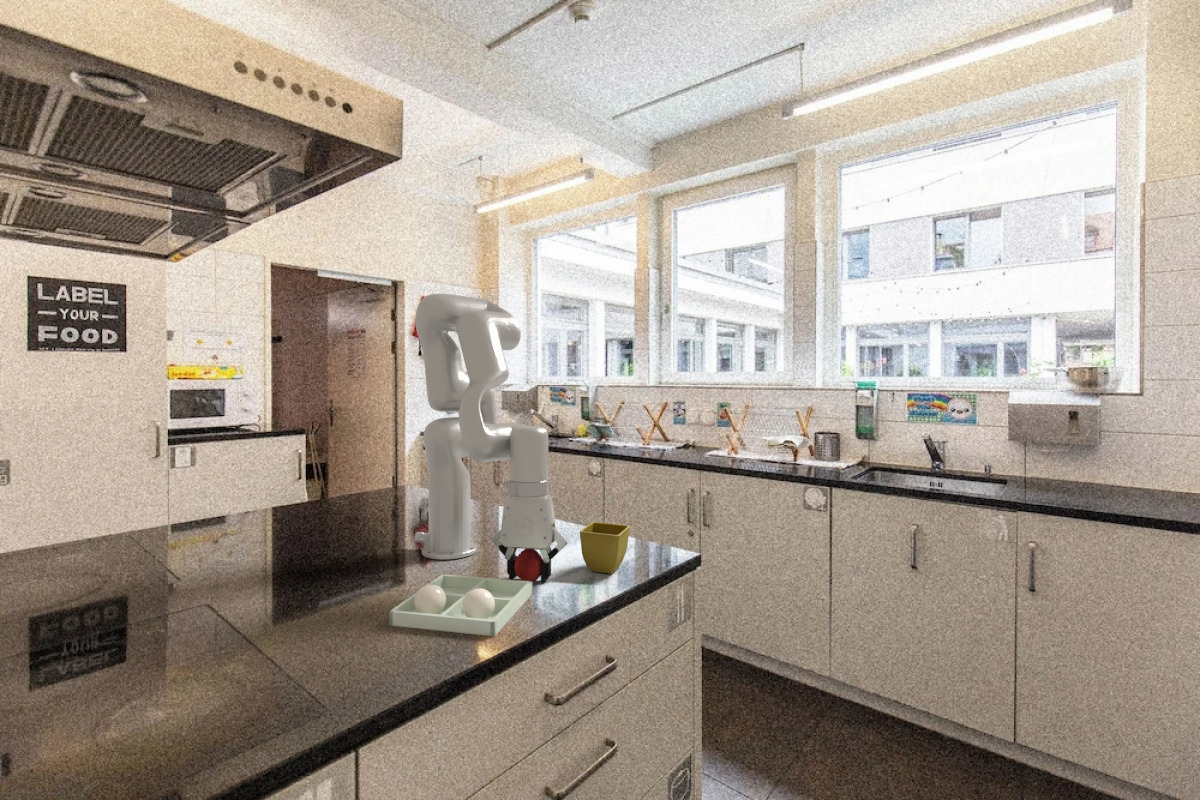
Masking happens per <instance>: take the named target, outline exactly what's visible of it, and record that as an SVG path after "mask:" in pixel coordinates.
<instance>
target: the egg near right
mask: <svg viewBox="0 0 1200 800" xmlns="http://www.w3.org/2000/svg"><path fill="white" fill-rule="evenodd" d="M494 608H495V600H494V597H493V595H492V594H491V593H490V592H489V591H488V590H486V589H482V588H478V589H474V590H472V591H470V592H469V593H468V594H467V595H466V597H465V598H464V601H463V612H464V614H465V616H466V617H469V618H480V619H488V618H489V617H490V616H491V615H492V613H493V611H494Z"/></svg>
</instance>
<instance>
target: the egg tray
mask: <svg viewBox="0 0 1200 800" xmlns="http://www.w3.org/2000/svg"><path fill="white" fill-rule="evenodd" d="M429 584H434V585H438V586H439V587H441V588H442V589H443V590H444V592H445V594H446V604H445V607H444V608H443V610H442V611H441V612H440V613H439V614H428V613H418V612H417V611H416V610H415V607H414V597H415V595H416V593H417V591H416V592H415V593H414V594H412V595H411V596H409V597H408V598H406V599H405V600H403V601H402V602H400V603H399V604H398V605H395V607H393V608H392V609H391V610H389V611H388V626H390V627H391V626H392V627H398V628H400V627H402V628H409V629H411V628H412V629H420V630H429V631H430V630H431V631H437V632H438V631H439V632H449V633H457V634H458V633H460V634H468V635H469V634H470V635H475V636H477V635H479V636H487V637H488V636H489V637H496V636H497V634H499V632H501V630H502V629H503V628H504V627H505V626H506V625H507V623H508V622H509V621H510V619H512V618H513V616H514V615H515V614H516V613H517V611H519V609H521V607H523V605H524V604H525V603H526V602H527V600H528V599H529V598H530V597H531V596H532V595H533V582H532V581H522V580H521V579H520V580H517V579H513V580H509V579H506V578H505V579H504V578H494V577H483V576H481V577H480V576H469V575H456V574H455V575H454V574H446V573H442V574H440V575H439V576H438V577H436V578H434V580H431V582H429V583H428V584H427V585H429ZM478 588H482V589H486V590H488V591H489V592H490V593H491V594H492V595H493V597H494V600H495V608H494V611H493V613H492V615H491V616H490V617H489V618H488V619H480V618H469V617H466V616H465V614H464V612H463V601H464V598H465V597H466V595H467V594H468V593H469V592H470V591H472V590H474V589H478Z"/></svg>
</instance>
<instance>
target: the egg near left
mask: <svg viewBox="0 0 1200 800" xmlns="http://www.w3.org/2000/svg"><path fill="white" fill-rule="evenodd" d="M428 584H429V583H428ZM428 584H426V585H423V586H422V587H421V588H419V589H418V590H417V591H416V592H417V593H416V592H415V593H416V595H415V597H414V607H415V610H416V611H417V612H418V613H428V614H439V613H440V612H441V611H442V610H443V608H444V607H445V604H446V594H445V592H444V590H443V589H442V588H441V587H439V586H438V585H434V584H429V585H428Z"/></svg>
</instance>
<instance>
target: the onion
mask: <svg viewBox="0 0 1200 800" xmlns="http://www.w3.org/2000/svg"><path fill="white" fill-rule="evenodd" d="M516 556H517V558H516V560H515V563H514V569H515V573H516V575H517V576H516V577H518V578H519V579H520V581H532V583H533V582H536V581H537V580H538V579H539V578H541V563H542V562H543V557H542V555H541V553H539V552H538V551H537V549H523V550H522V551H520V553H519V554H518V555H516Z"/></svg>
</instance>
